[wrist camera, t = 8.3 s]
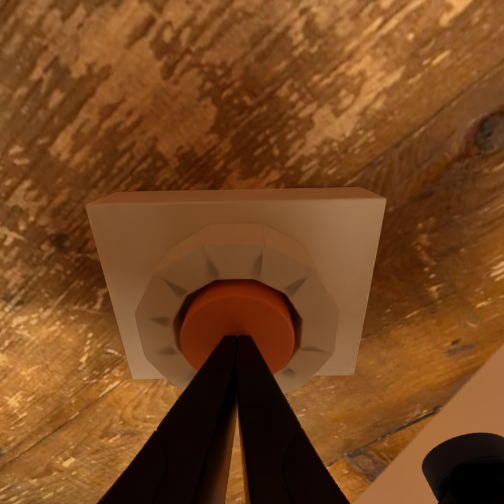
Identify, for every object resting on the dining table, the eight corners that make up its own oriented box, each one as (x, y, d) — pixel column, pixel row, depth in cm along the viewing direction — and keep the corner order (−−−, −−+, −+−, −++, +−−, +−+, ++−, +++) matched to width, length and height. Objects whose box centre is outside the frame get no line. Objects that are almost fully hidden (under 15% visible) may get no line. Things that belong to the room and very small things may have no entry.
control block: (361, 186, 11) (420, 212, 7) (339, 341, 14) (371, 414, 10) (114, 191, 11) (43, 219, 7) (149, 344, 14) (112, 419, 10)
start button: (289, 266, 9) (298, 294, 8) (286, 347, 11) (292, 385, 9) (185, 268, 9) (171, 296, 8) (196, 348, 11) (186, 387, 9)
